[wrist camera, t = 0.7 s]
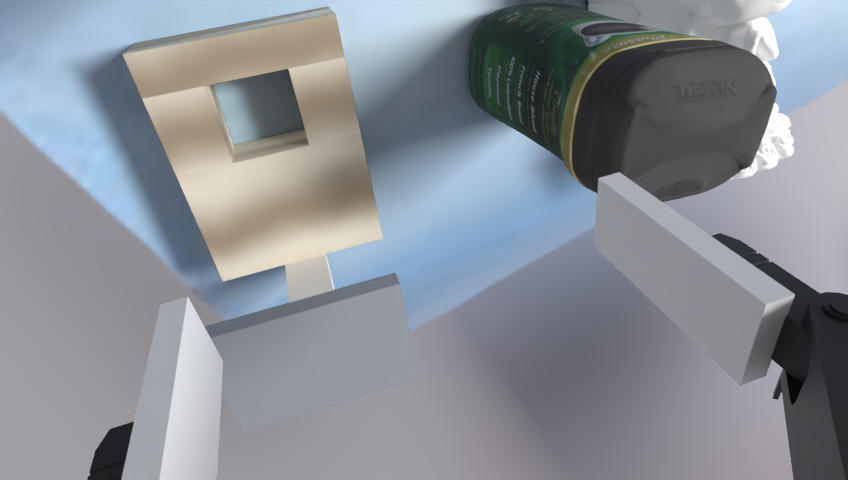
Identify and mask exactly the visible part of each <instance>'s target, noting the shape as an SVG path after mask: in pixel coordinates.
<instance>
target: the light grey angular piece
mask: <svg viewBox="0 0 848 480" xmlns="http://www.w3.org/2000/svg"><path fill="white" fill-rule="evenodd" d="M285 270H286V279H287V289H288V299H289V303H287V304H283V305H280V306H276V307H272V308H269V309H265V310H262V311H258V312H255V313H251V314H248V315H244V316H241V317H237V318H234V319H230V320H227V321H223V322H219V323H216V324H212V325H209V326H205V329H206V331H207V333H208V334H209V336H210V338H211V340H212V342H213V343H214V345H215V347H216V349H217V351H218V353H219V354H220V356H221V358H222V360H223V373H222V393H223V395H224V397H225V399H226V401H227V402H228V404H229V406H230V408H231V410H232V412H233V414H234V416H235V418H236V420H237V422H238V424H239V425H240V427H241V429H242V431H243V433H244V434H247V433H250V432H253V431H256V430H259V429H262V428H265V427H268V426H272V425H275V424H278V423H281V422H284V421H287V420H290V419H294V418H297V417H300V416H303V415H306V414H309V413H312V412H315V411H318V410H322V409H325V408H328V407H331V406H334V405H337V404H340V403H343V402H346V401H350V400H353V399H356V398H359V397H362V396H365V395H368V394H371V393H374V392H378V391H381V390H384V389H387V388H390V387H393V386H396V385H399V384H402V383H405V382H409V381H412V380H415V379H418V378H419V377H418V373H417V368H416V363H415V358H414V353H413V348H412V343H411V338H410V333H409V328H408V323H407V318H406V313H405V308H404V303H403V298H402V293H401V288H400V284H399V281H398V279H397V276H396V274H395V273H393V274H389V275H386V276H382V277H378V278H375V279H371V280H368V281H364V282H361V283H357V284H354V285H350V286H347V287H343V288H340V289H336V290H335V289H334V285H333V281H332V277H331V272H330V268H329V264H328V260H327V256H326V254H324V255H320V256H316V257H313V258H309V259H305V260H302V261H298V262H294V263H290V264H287V265H285Z"/></svg>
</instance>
